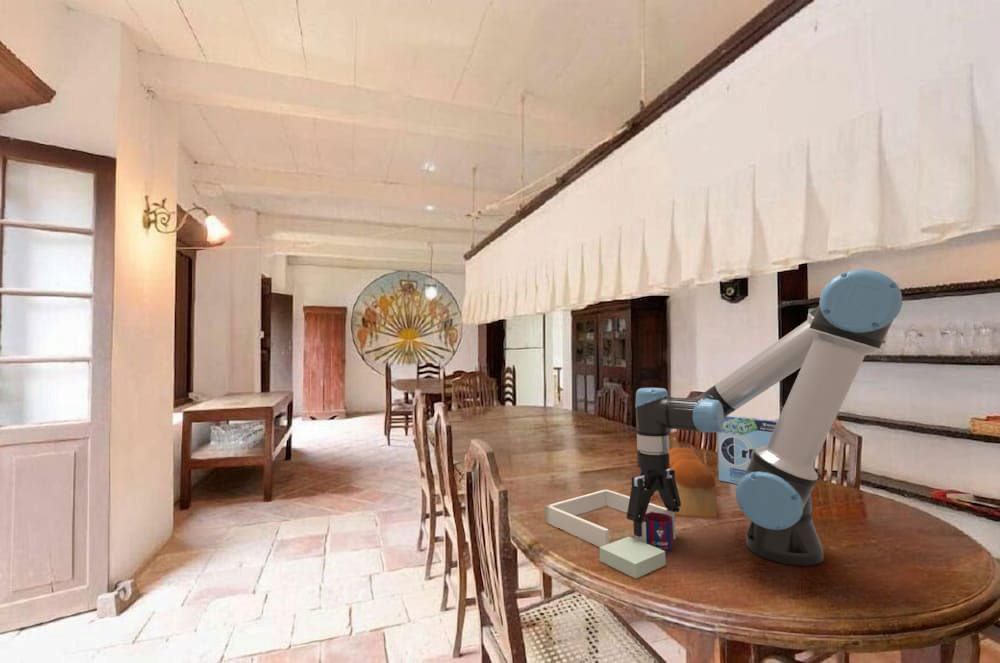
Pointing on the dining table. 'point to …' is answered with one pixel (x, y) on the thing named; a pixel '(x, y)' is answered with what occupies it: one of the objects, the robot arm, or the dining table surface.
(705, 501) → the bread
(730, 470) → the gum box
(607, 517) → the dining table surface
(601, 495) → the white u-shaped frame
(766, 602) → the dining table surface
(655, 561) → the stand
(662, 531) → the mug
